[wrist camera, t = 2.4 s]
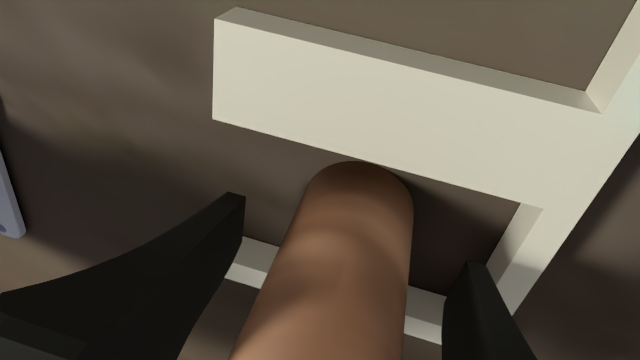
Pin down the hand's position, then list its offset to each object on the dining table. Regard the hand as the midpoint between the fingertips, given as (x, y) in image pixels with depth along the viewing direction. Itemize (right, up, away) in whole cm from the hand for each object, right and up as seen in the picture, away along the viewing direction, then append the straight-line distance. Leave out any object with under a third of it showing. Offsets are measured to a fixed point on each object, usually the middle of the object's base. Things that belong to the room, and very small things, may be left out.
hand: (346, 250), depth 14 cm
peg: (+1, +1, +2) cm, 2 cm away
